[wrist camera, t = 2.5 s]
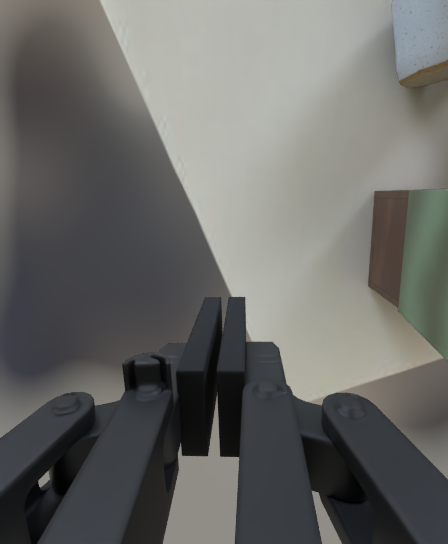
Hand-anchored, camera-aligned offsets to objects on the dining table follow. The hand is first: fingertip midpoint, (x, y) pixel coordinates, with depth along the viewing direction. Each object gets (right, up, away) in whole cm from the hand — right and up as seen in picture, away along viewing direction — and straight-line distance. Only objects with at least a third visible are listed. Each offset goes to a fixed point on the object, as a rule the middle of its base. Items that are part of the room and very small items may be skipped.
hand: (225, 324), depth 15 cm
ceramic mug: (+22, +27, +20) cm, 40 cm away
